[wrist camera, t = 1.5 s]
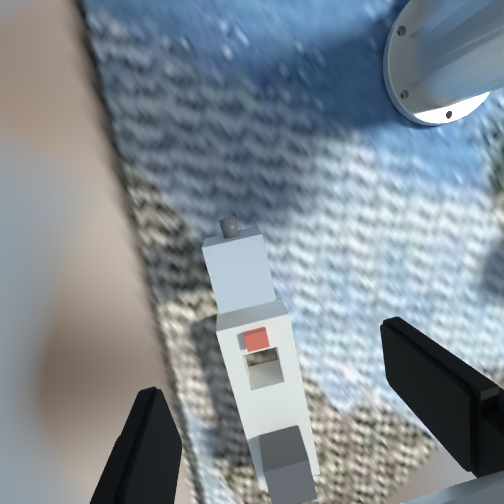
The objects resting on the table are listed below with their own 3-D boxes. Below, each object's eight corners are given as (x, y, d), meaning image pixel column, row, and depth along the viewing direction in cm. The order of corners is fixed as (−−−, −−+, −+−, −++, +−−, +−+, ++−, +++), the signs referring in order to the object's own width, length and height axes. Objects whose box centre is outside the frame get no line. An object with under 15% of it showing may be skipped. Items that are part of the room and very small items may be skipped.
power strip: (217, 313, 30) (215, 336, 26) (280, 298, 31) (290, 317, 26) (257, 458, 37) (262, 497, 32) (310, 444, 37) (322, 480, 32)
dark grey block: (254, 407, 34) (263, 472, 27) (290, 398, 35) (309, 459, 27) (265, 448, 36) (276, 520, 29) (298, 439, 37) (319, 508, 29)
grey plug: (204, 217, 28) (196, 228, 20) (249, 207, 28) (258, 214, 20) (221, 280, 30) (219, 314, 22) (262, 270, 30) (276, 300, 22)
